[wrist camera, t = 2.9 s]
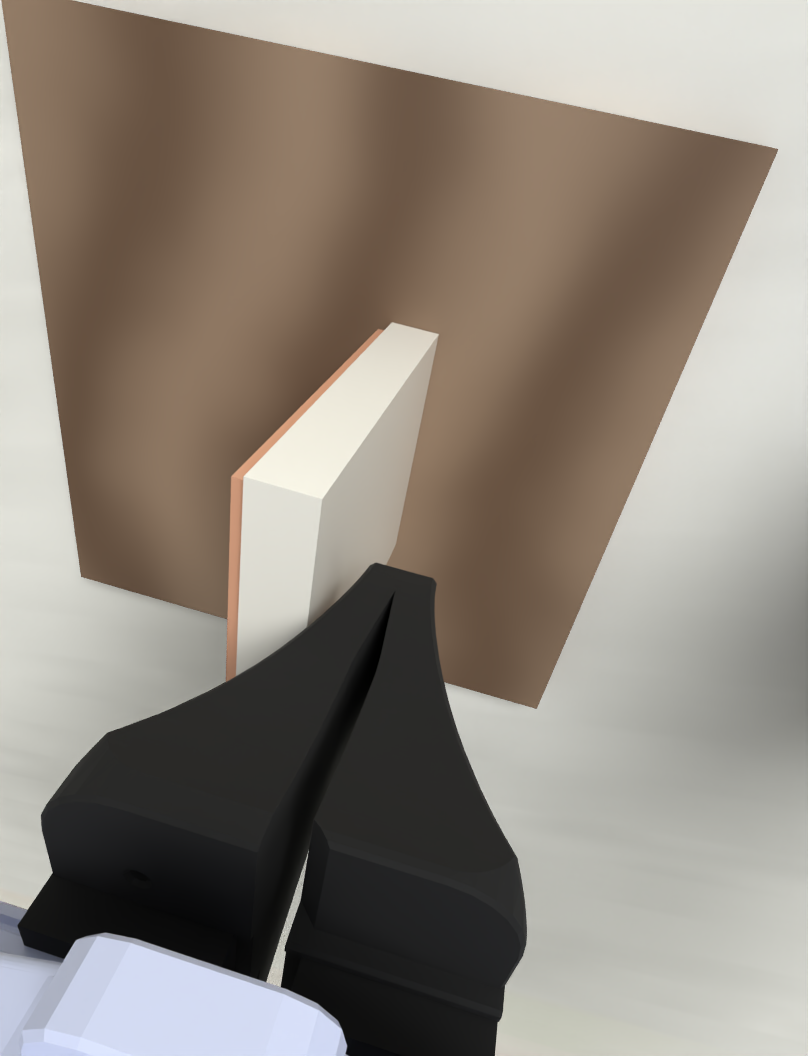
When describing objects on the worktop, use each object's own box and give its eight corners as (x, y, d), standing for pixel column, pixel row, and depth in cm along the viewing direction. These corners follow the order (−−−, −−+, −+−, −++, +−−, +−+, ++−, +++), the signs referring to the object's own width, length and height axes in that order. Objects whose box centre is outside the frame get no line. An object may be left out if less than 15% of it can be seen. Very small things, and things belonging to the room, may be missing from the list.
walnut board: (767, 146, 15) (778, 149, 14) (537, 688, 25) (536, 708, 24) (28, -9, 16) (-1, -15, 15) (96, 562, 26) (81, 576, 26)
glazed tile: (439, 334, 18) (322, 499, 10) (395, 544, 21) (289, 772, 14) (381, 319, 18) (225, 470, 10) (349, 530, 22) (219, 749, 14)
